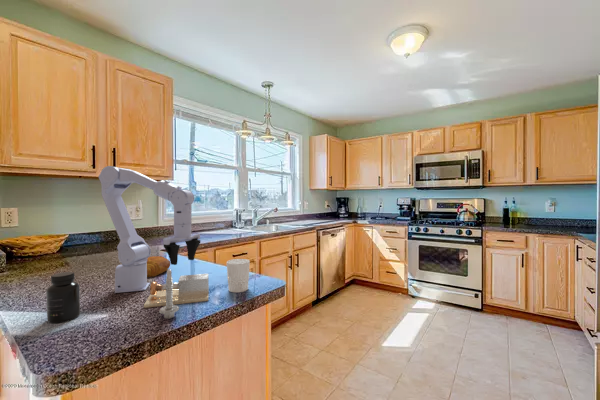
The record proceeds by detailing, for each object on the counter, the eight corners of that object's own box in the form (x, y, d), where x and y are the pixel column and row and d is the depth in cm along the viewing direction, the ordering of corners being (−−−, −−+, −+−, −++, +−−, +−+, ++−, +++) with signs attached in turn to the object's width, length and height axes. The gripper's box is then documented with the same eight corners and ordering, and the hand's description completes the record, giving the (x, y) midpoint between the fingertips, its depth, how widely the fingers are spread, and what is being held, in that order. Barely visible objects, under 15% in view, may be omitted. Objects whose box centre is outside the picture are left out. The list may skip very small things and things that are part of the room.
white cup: (253, 287, 100) (253, 259, 100) (242, 294, 93) (242, 264, 93) (234, 285, 103) (234, 258, 103) (222, 291, 95) (222, 262, 95)
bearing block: (143, 307, 82) (143, 287, 82) (153, 292, 95) (153, 275, 95) (208, 300, 87) (208, 281, 87) (208, 287, 100) (208, 270, 100)
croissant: (175, 273, 128) (176, 255, 129) (156, 278, 112) (158, 258, 113) (144, 272, 128) (146, 254, 129) (122, 277, 113) (124, 257, 114)
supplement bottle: (60, 313, 78) (59, 270, 78) (86, 312, 78) (85, 270, 78) (39, 324, 71) (38, 277, 71) (67, 323, 72) (67, 277, 72)
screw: (173, 320, 73) (155, 320, 73) (182, 313, 78) (165, 312, 78) (173, 271, 73) (155, 271, 73) (182, 266, 78) (165, 266, 78)
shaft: (150, 296, 86) (149, 284, 86) (152, 292, 90) (152, 280, 90) (188, 292, 90) (188, 280, 90) (189, 289, 94) (189, 277, 94)
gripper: (174, 226, 90) (174, 267, 90) (206, 222, 103) (206, 259, 103) (158, 225, 93) (158, 265, 93) (191, 221, 106) (191, 257, 106)
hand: (182, 262), depth 98 cm, fingers open, 7 cm apart
